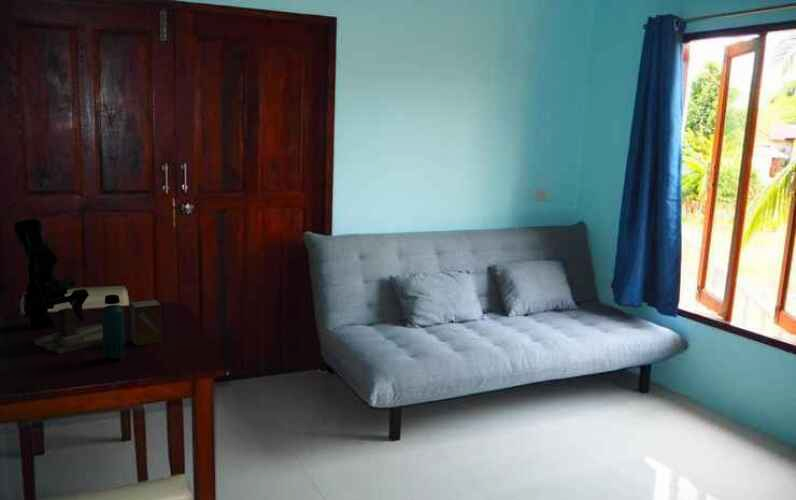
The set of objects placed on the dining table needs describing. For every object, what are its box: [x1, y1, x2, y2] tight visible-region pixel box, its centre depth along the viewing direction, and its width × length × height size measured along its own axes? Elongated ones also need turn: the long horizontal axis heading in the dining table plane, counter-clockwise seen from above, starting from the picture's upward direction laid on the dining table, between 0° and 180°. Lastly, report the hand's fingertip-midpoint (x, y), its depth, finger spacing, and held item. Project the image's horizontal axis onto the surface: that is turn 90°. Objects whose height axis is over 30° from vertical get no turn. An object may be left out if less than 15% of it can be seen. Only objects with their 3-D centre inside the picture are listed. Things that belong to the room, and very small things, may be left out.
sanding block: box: [51, 307, 85, 348], centre depth 217 cm, size 8×6×11 cm
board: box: [33, 323, 103, 355], centre depth 226 cm, size 15×22×2 cm
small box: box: [130, 299, 162, 347], centre depth 226 cm, size 8×6×13 cm
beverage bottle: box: [100, 294, 127, 359], centre depth 208 cm, size 6×7×20 cm
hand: (68, 323), depth 217 cm, fingers open, 9 cm apart
